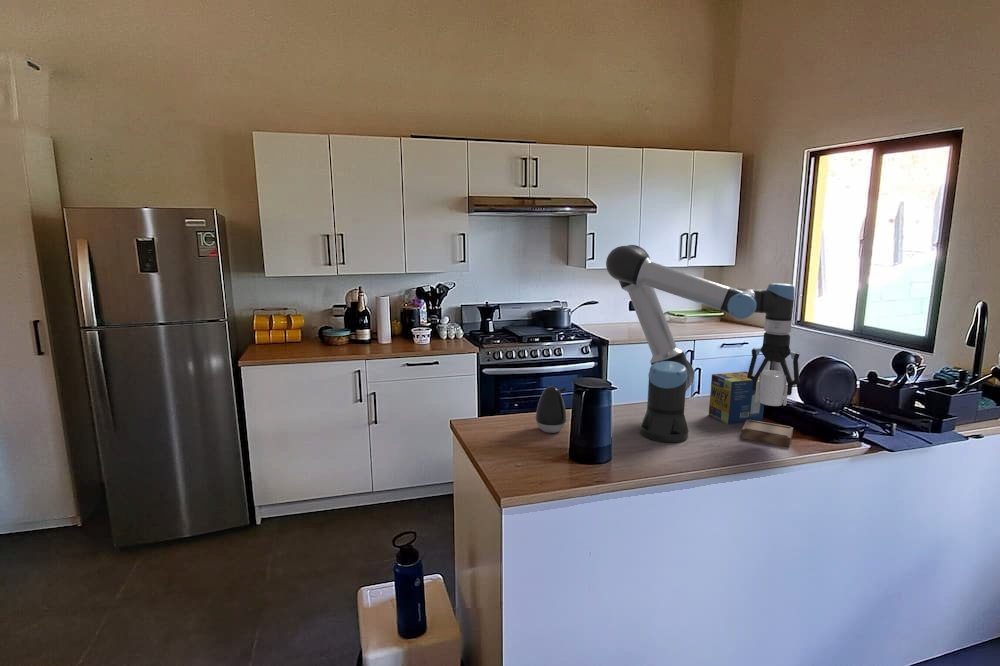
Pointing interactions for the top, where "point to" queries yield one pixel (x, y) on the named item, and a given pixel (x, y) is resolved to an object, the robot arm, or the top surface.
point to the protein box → (734, 398)
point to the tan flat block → (767, 432)
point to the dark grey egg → (551, 410)
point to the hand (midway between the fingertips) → (770, 402)
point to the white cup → (772, 387)
